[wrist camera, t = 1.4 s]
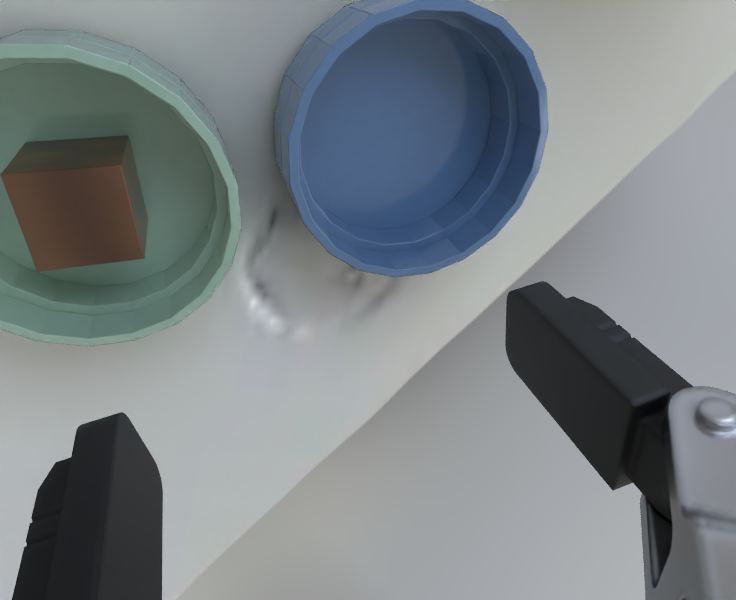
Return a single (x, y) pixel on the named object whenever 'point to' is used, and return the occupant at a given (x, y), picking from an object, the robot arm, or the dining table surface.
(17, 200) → the walnut block
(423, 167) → the blue bowl
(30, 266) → the celadon bowl
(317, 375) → the dining table surface
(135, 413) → the dining table surface
